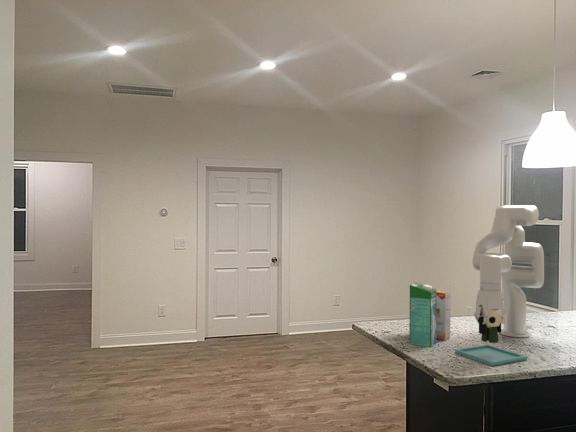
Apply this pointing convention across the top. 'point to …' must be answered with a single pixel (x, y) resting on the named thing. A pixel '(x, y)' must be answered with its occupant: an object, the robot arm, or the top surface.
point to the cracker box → (443, 315)
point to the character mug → (492, 326)
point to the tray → (490, 355)
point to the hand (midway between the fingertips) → (490, 332)
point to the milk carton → (422, 315)
